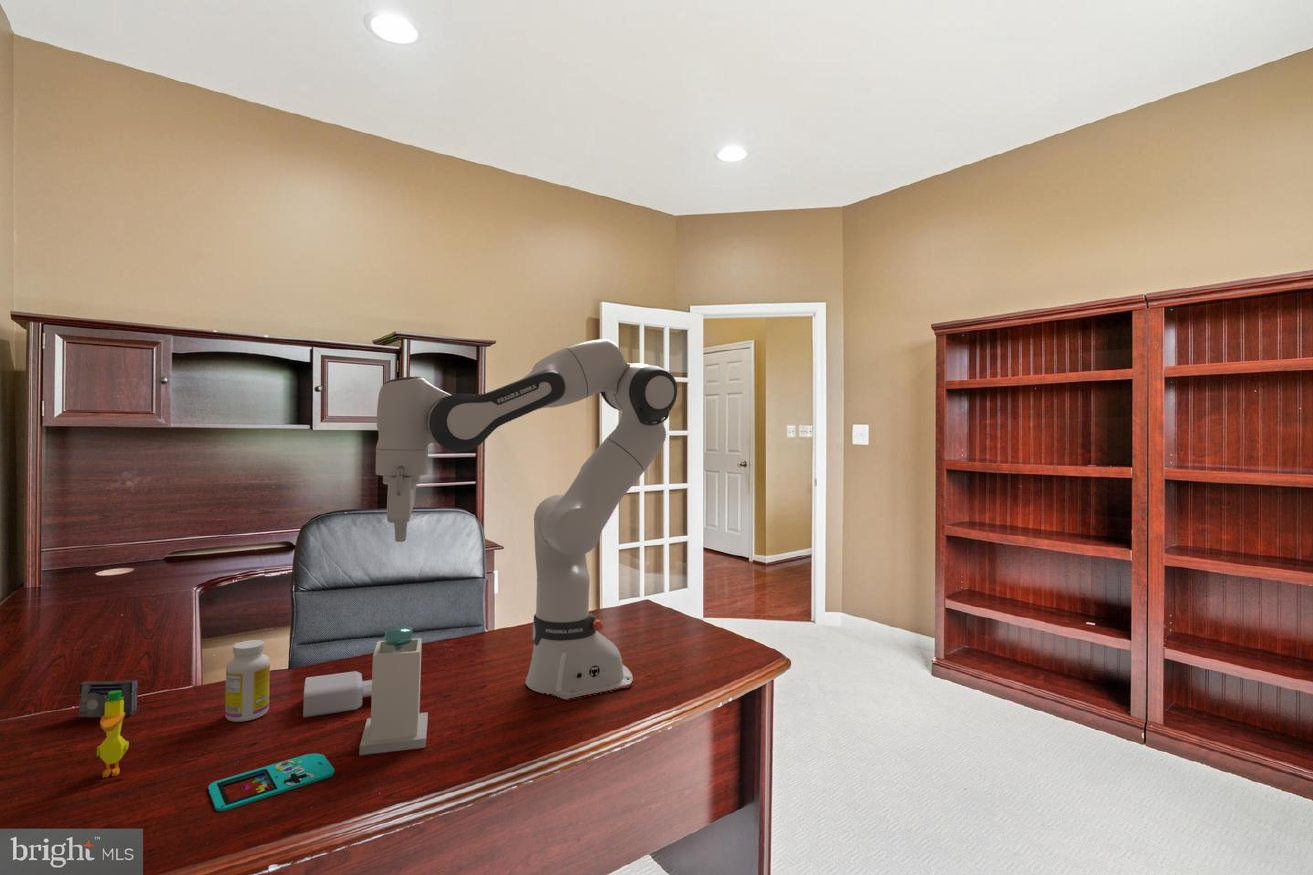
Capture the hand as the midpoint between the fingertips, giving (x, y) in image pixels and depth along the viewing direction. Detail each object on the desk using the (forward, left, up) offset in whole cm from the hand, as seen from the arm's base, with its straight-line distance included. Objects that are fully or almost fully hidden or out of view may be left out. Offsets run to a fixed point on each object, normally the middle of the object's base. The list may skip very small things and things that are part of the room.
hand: (400, 540), depth 115 cm
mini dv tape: (+48, -12, -32) cm, 59 cm away
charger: (+9, -8, -33) cm, 35 cm away
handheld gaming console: (+15, +18, -33) cm, 41 cm away
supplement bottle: (+25, -6, -32) cm, 42 cm away
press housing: (-1, +9, -32) cm, 33 cm away
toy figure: (+38, +11, -32) cm, 51 cm away
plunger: (-1, +9, -26) cm, 27 cm away
